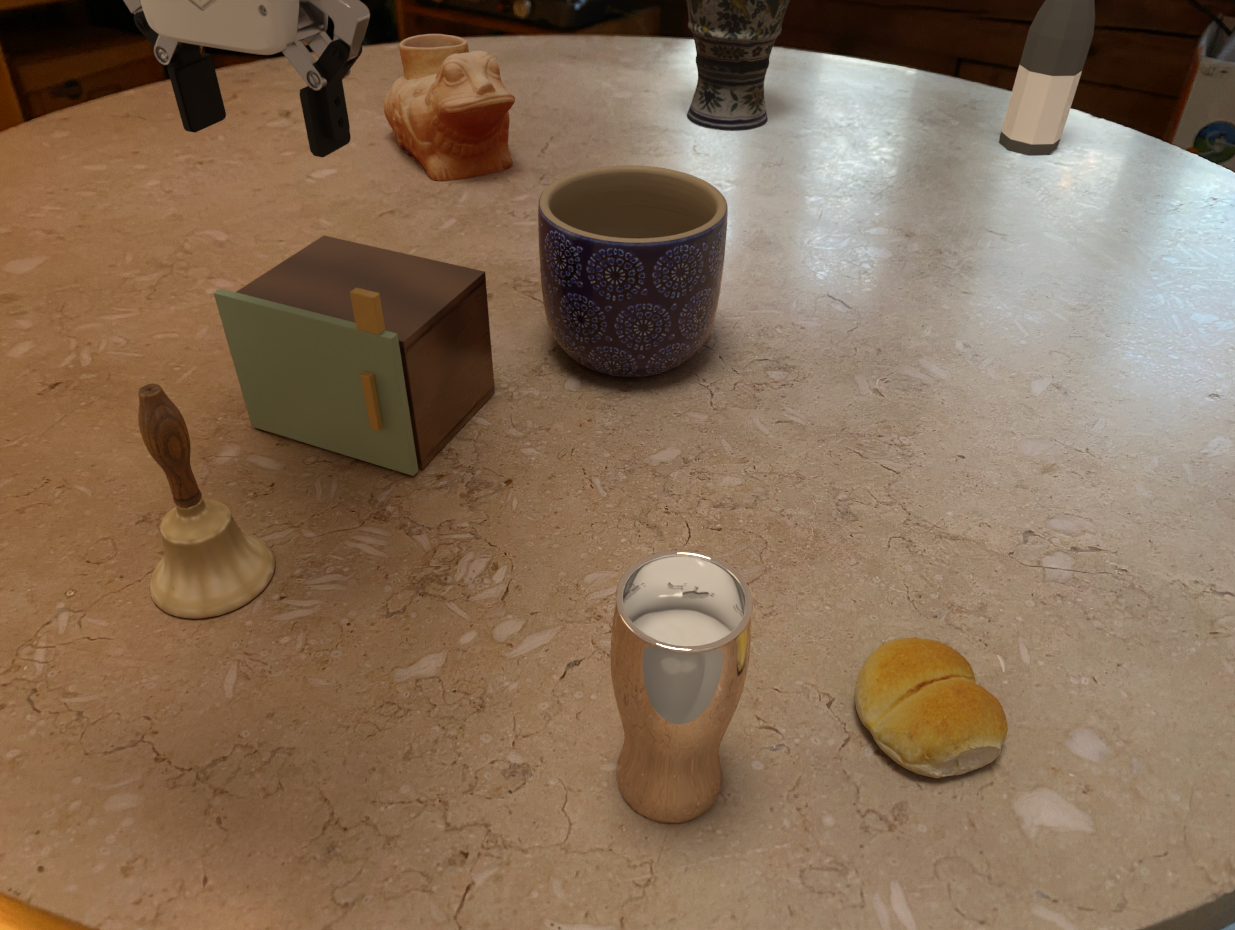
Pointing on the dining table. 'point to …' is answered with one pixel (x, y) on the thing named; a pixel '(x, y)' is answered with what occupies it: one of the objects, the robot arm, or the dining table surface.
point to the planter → (631, 266)
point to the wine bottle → (1048, 76)
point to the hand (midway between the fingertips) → (267, 137)
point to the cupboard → (403, 324)
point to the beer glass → (677, 678)
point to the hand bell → (197, 528)
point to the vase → (732, 60)
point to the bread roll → (929, 708)
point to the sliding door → (322, 376)
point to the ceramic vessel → (450, 108)
